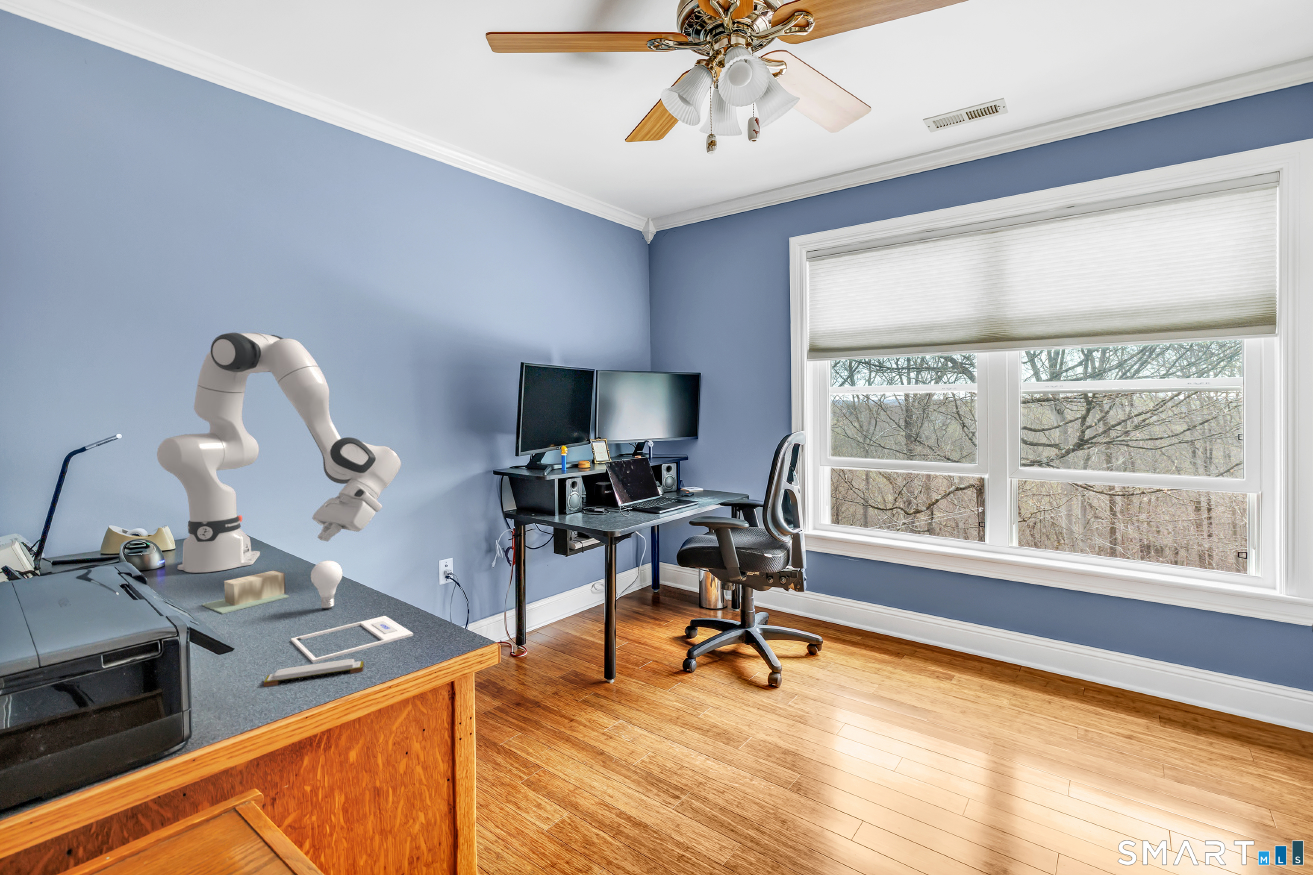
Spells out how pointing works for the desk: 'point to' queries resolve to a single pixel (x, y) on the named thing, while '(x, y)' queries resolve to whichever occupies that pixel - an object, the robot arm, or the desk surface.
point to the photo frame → (377, 626)
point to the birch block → (254, 587)
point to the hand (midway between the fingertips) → (322, 539)
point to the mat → (226, 607)
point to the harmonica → (314, 671)
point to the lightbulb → (326, 581)
